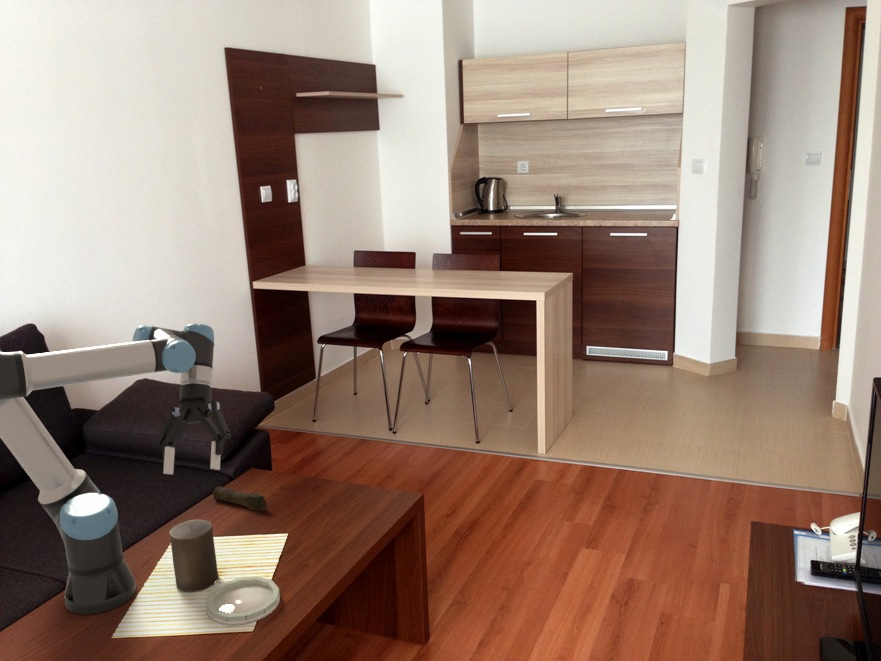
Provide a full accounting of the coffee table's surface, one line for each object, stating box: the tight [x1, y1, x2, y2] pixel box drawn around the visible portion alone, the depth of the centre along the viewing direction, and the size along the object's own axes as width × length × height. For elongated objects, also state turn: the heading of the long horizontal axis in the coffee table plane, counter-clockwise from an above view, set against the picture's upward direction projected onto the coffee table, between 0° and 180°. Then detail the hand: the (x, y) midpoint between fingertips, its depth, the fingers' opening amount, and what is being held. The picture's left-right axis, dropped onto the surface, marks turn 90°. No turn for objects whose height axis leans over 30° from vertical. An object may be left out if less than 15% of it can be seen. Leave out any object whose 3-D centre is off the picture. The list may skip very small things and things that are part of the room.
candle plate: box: [205, 576, 281, 626], centre depth 177 cm, size 16×16×2 cm
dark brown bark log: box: [212, 485, 268, 512], centre depth 224 cm, size 19×4×5 cm, turn 58°
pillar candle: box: [168, 518, 219, 593], centre depth 185 cm, size 10×10×15 cm
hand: (191, 471), depth 189 cm, fingers open, 13 cm apart
